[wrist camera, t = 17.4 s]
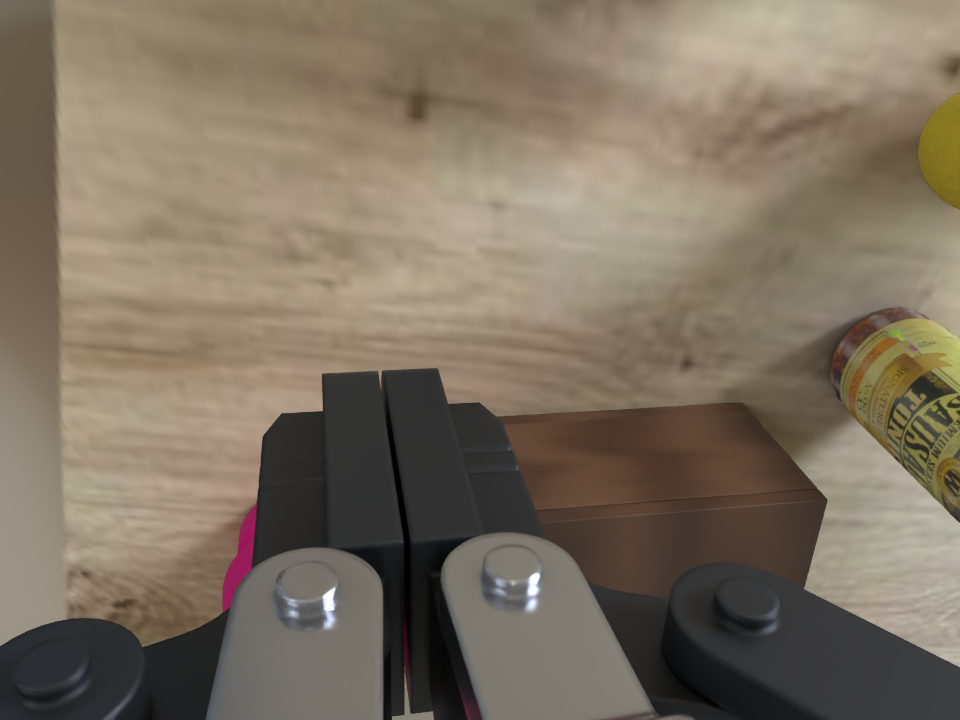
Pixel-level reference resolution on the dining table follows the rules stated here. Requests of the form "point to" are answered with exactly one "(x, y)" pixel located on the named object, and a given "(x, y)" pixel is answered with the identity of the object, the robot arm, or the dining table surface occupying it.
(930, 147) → the lemon
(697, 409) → the box
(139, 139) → the dining table surface
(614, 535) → the lid
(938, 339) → the sauce bottle
